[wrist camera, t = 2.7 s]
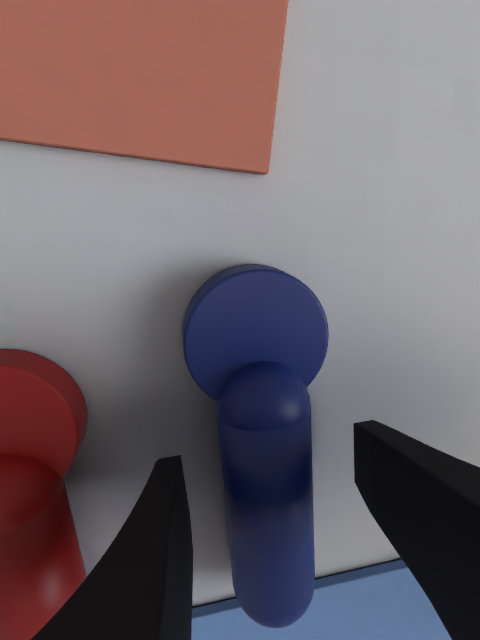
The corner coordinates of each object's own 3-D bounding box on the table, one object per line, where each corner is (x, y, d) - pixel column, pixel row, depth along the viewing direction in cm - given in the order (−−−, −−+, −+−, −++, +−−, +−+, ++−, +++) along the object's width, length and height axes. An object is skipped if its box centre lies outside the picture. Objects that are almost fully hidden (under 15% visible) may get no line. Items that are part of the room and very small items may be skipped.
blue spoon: (319, 562, 14) (350, 634, 12) (210, 584, 14) (219, 665, 11) (313, 257, 11) (352, 269, 9) (174, 270, 11) (175, 286, 8)
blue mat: (201, 733, 16) (201, 746, 15) (178, 611, 14) (179, 622, 14) (534, 640, 18) (542, 650, 17) (551, 523, 16) (560, 531, 16)
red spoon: (135, 637, 14) (127, 729, 11) (15, 665, 13) (-21, 767, 11) (73, 339, 11) (44, 375, 8) (-86, 359, 10) (-167, 404, 8)
